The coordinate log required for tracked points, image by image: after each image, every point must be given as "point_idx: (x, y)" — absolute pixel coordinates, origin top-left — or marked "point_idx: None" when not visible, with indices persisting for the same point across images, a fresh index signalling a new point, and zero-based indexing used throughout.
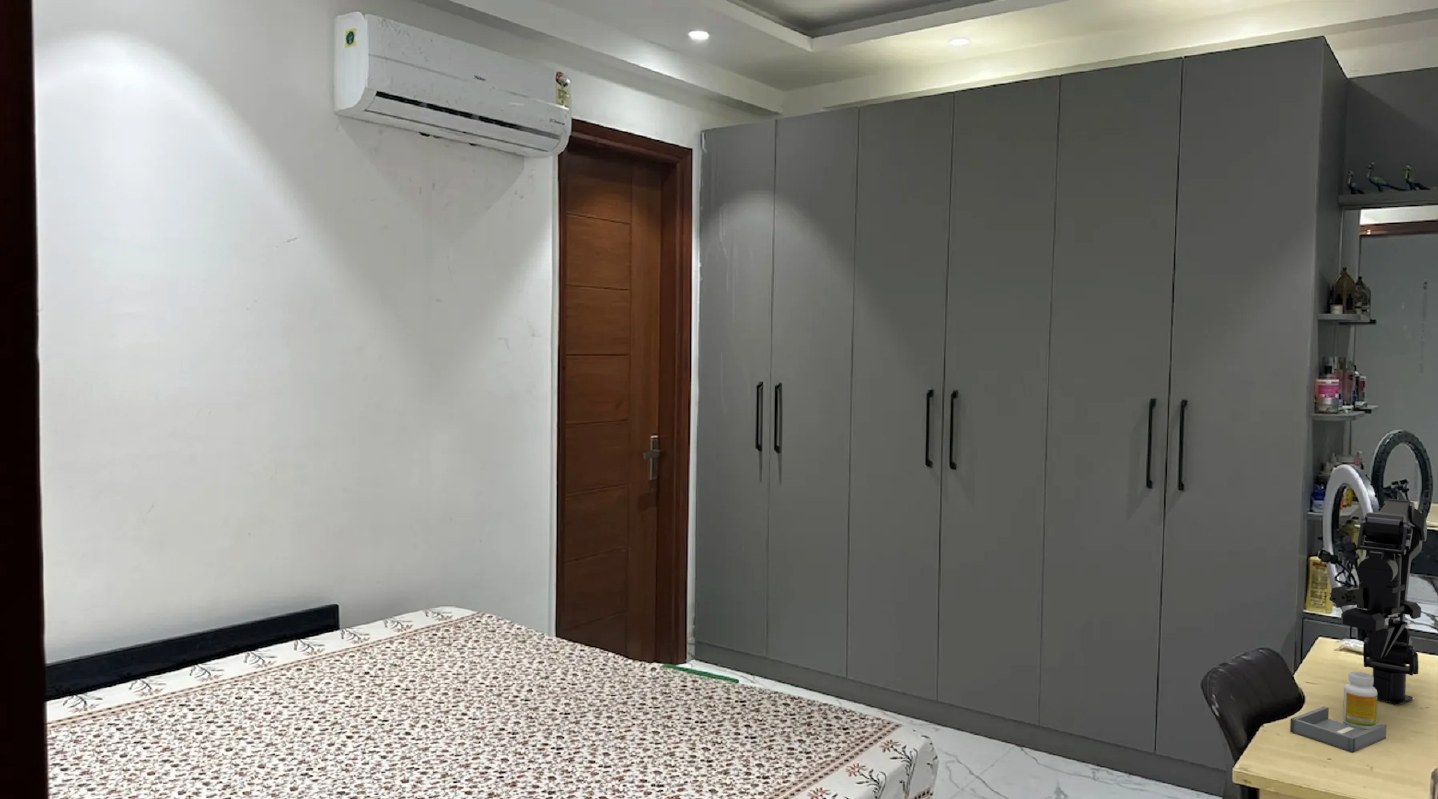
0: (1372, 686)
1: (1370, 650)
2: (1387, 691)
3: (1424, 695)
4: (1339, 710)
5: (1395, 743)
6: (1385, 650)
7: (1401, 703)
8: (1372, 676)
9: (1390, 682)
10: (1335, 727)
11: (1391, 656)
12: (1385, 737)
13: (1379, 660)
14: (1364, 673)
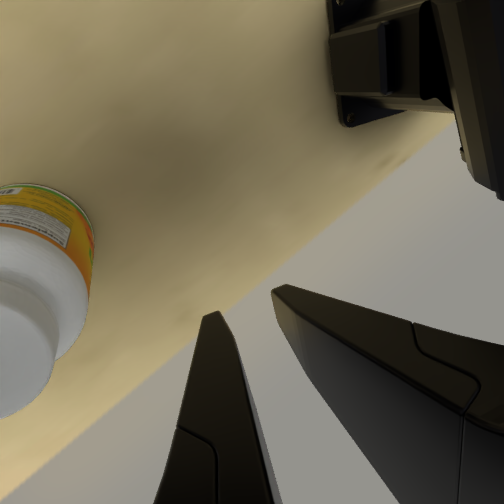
0: (60, 337)
1: (469, 7)
2: (356, 95)
3: None
4: (74, 86)
5: None
6: (301, 362)
7: (362, 122)
8: (32, 395)
9: (391, 97)
10: None
11: (478, 131)
12: None
13: (443, 58)
14: (23, 343)
